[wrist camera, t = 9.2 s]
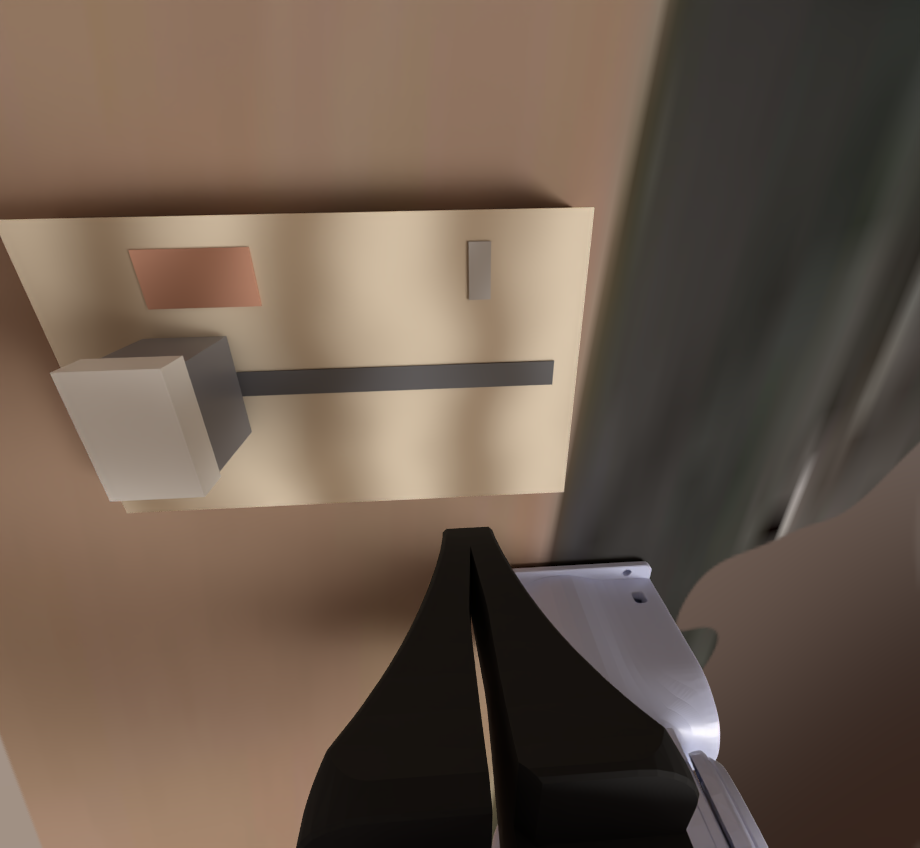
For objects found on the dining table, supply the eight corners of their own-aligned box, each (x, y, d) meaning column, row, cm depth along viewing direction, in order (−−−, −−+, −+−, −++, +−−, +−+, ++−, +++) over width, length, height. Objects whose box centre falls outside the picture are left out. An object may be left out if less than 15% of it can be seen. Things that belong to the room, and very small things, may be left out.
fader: (224, 330, 16) (160, 368, 12) (253, 436, 18) (204, 496, 14) (140, 333, 16) (49, 372, 12) (178, 439, 18) (110, 501, 14)
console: (573, 207, 17) (595, 207, 15) (550, 463, 23) (564, 493, 20) (53, 218, 16) (-10, 219, 14) (158, 481, 22) (125, 514, 19)
